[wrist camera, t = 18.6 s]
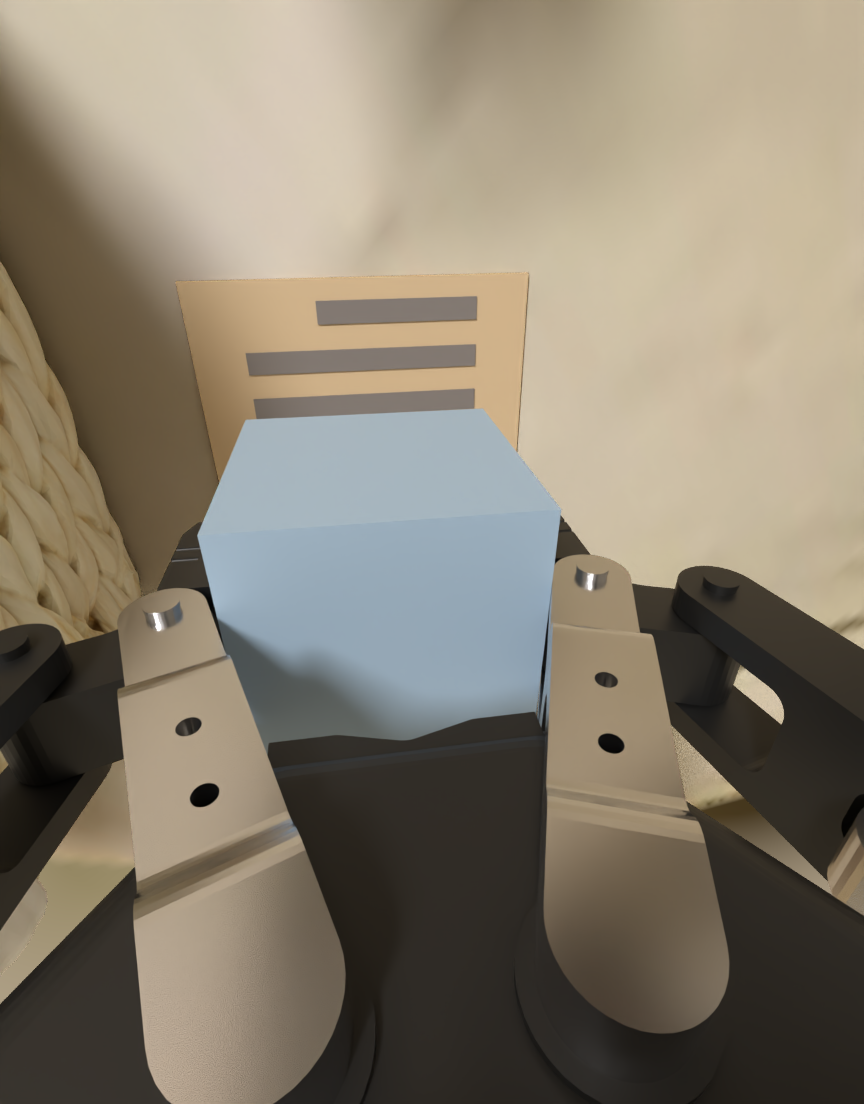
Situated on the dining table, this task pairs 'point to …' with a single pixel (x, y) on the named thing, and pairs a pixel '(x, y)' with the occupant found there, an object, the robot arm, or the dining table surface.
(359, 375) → the letter
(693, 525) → the dining table surface
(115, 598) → the storage basket
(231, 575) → the slate cube
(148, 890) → the robot arm
